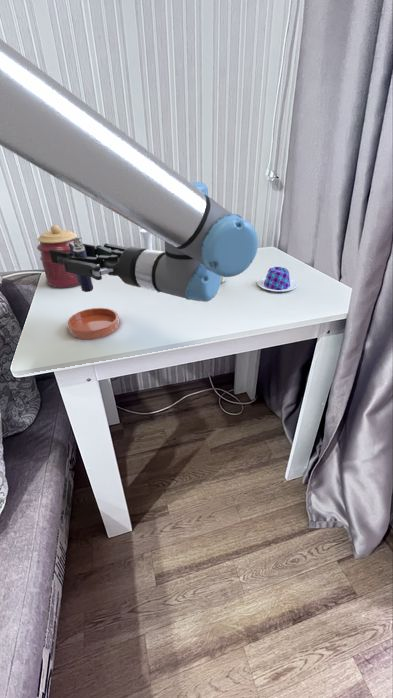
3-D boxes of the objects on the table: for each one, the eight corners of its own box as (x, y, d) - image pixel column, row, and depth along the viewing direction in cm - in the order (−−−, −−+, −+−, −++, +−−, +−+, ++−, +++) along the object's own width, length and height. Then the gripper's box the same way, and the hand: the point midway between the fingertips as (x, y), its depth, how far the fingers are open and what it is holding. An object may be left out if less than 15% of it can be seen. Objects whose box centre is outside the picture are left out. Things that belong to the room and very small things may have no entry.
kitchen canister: (54, 274, 111) (39, 220, 102) (92, 272, 112) (81, 219, 102) (41, 289, 101) (24, 231, 91) (83, 287, 101) (70, 229, 91)
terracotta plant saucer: (95, 344, 74) (93, 336, 73) (59, 331, 79) (57, 323, 78) (128, 321, 83) (127, 314, 82) (94, 311, 88) (93, 304, 87)
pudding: (304, 288, 98) (307, 271, 96) (274, 296, 94) (276, 279, 91) (278, 275, 107) (280, 260, 104) (249, 283, 102) (250, 267, 100)
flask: (75, 278, 78) (66, 232, 72) (88, 276, 79) (79, 231, 73) (82, 293, 71) (72, 243, 65) (95, 290, 72) (87, 242, 66)
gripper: (116, 304, 59) (33, 281, 69) (172, 272, 72) (95, 256, 82) (109, 264, 55) (21, 245, 64) (170, 237, 68) (90, 225, 78)
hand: (63, 251), depth 73 cm, fingers closed on flask, 6 cm apart
